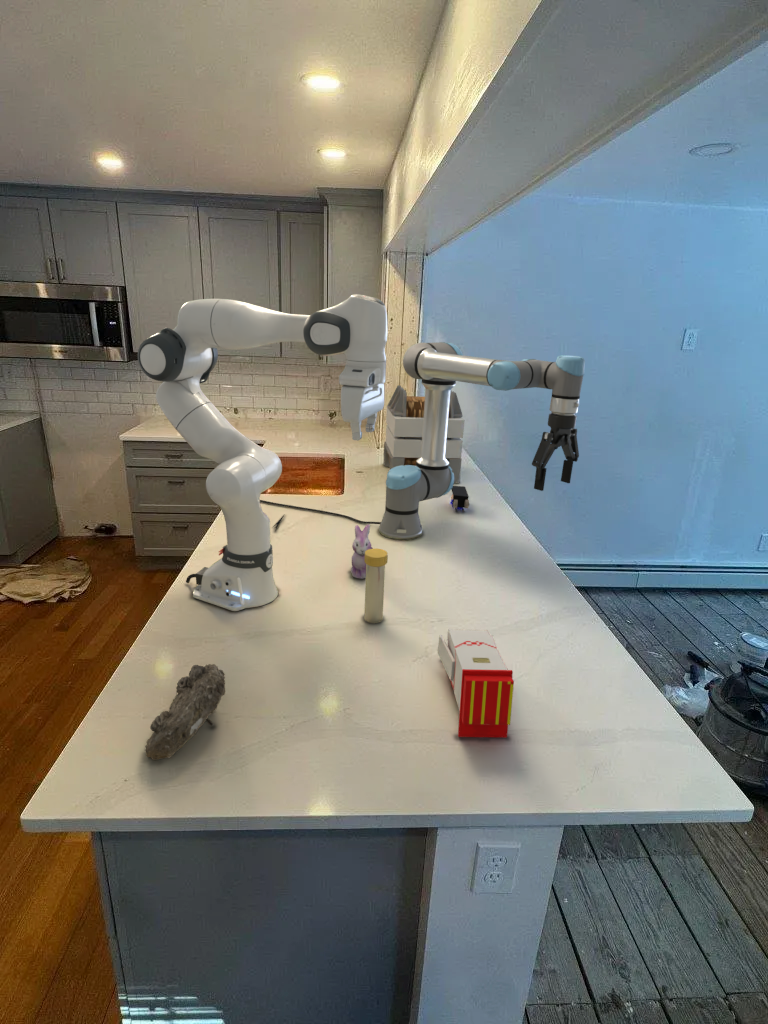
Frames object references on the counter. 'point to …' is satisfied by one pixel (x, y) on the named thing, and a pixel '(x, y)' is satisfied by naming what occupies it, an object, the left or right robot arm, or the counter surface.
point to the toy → (478, 682)
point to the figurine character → (459, 498)
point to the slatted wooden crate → (419, 431)
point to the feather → (278, 523)
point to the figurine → (360, 551)
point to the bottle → (374, 593)
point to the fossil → (186, 710)
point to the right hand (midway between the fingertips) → (552, 485)
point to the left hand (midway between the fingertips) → (363, 435)
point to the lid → (376, 557)
